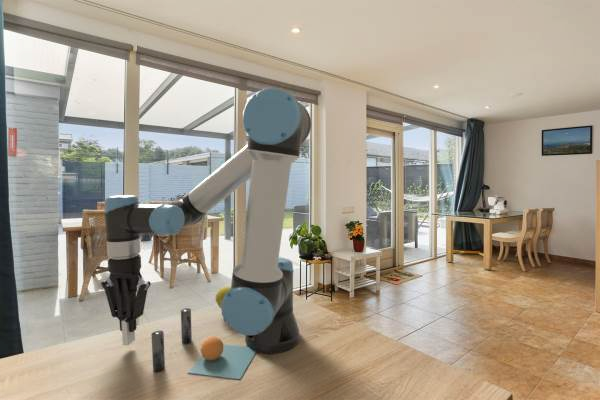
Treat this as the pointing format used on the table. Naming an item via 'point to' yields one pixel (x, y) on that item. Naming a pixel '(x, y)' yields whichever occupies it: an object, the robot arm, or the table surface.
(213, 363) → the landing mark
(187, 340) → the right post
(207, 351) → the ball
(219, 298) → the light bulb
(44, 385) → the table surface
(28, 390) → the table surface
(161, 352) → the left post
